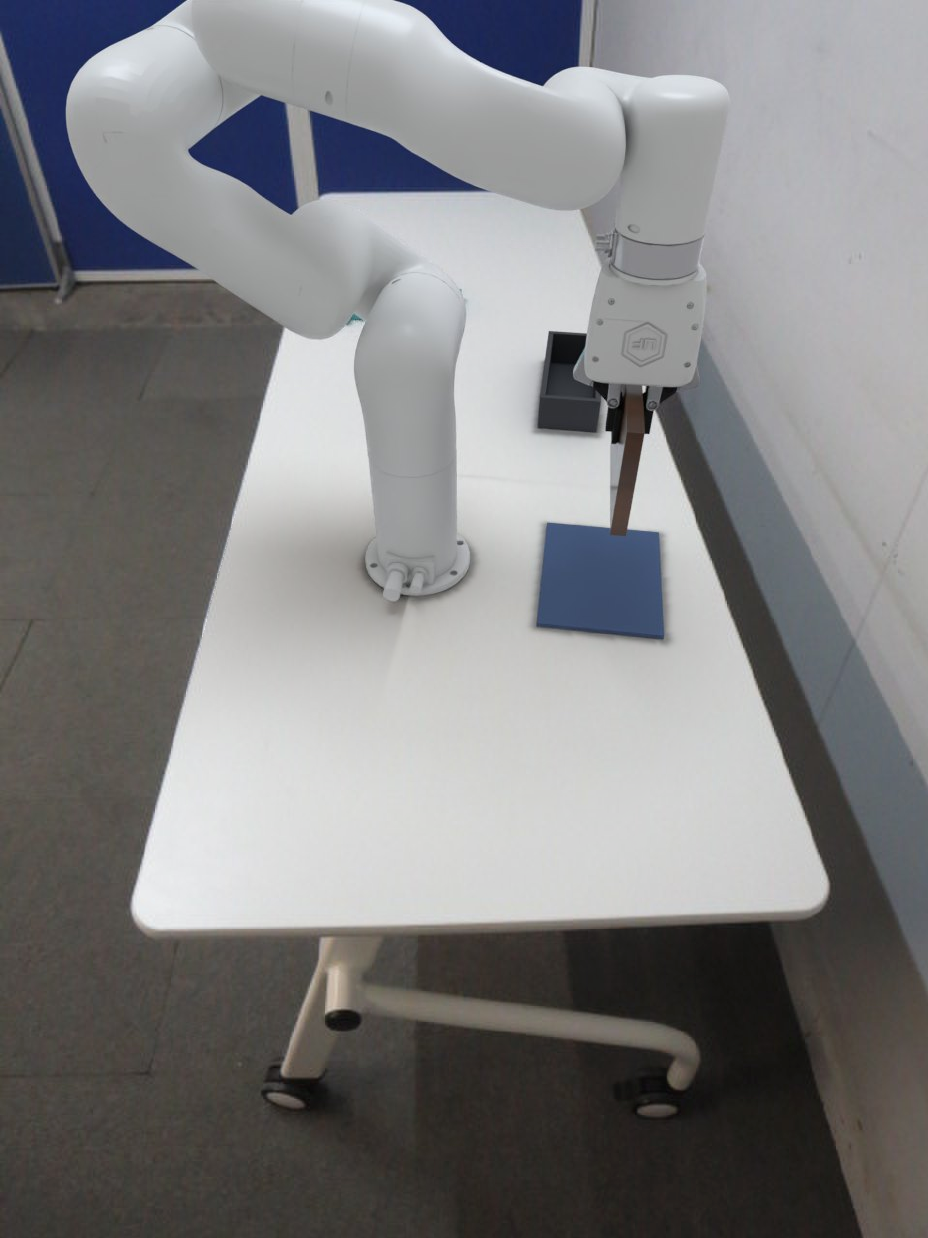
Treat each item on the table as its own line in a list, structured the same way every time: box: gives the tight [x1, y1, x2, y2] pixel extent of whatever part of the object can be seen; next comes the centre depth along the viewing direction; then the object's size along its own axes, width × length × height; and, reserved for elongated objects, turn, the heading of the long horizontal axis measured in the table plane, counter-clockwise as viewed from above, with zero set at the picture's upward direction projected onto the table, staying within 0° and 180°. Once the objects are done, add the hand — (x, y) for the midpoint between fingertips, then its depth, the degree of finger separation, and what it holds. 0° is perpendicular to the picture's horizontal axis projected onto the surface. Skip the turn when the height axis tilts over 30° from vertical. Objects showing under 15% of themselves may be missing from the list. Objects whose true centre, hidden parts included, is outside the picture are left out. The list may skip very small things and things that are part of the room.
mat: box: [535, 522, 665, 640], centre depth 95 cm, size 18×14×1 cm
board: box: [609, 384, 646, 536], centre depth 82 cm, size 16×2×12 cm, turn 173°
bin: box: [537, 330, 602, 434], centre depth 122 cm, size 21×9×6 cm, turn 172°
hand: (626, 436), depth 81 cm, fingers closed on board, 1 cm apart
